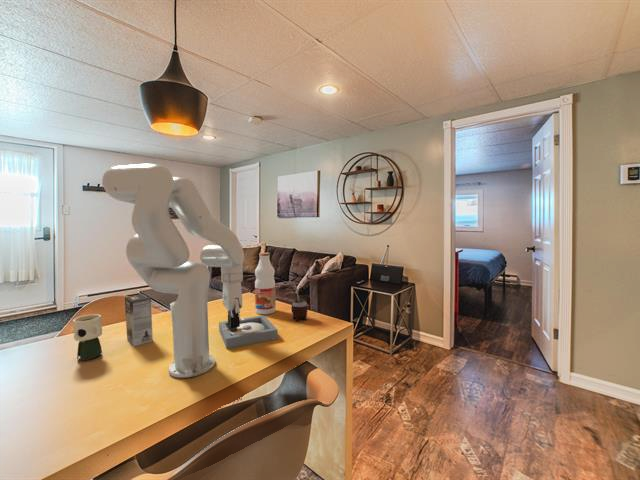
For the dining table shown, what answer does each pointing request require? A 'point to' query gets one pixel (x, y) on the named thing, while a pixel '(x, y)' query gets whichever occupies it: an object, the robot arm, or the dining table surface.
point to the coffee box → (138, 319)
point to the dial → (245, 328)
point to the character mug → (88, 335)
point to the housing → (250, 337)
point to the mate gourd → (299, 308)
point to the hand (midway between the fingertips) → (233, 325)
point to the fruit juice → (265, 286)
